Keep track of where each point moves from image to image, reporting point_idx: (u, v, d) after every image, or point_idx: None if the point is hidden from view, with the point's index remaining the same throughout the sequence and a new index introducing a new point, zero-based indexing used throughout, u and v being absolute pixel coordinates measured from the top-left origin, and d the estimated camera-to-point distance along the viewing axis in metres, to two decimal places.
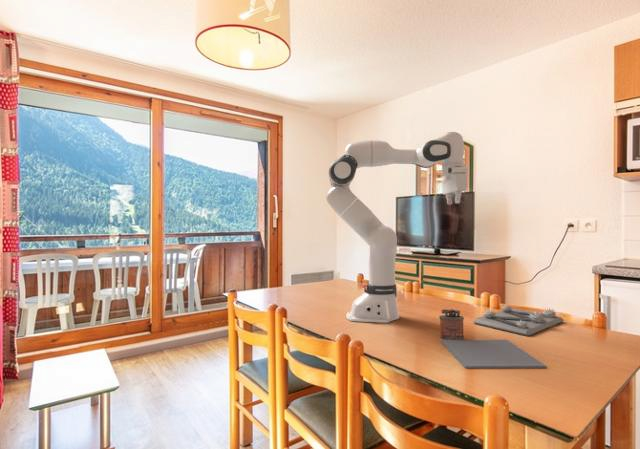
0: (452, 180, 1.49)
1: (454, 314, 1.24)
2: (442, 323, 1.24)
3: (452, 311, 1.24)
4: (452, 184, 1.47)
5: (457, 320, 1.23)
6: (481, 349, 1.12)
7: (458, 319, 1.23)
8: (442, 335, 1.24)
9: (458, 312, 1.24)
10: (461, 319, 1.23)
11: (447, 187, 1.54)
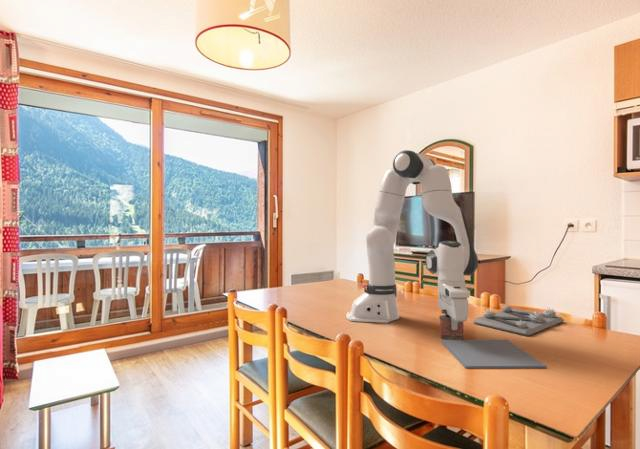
0: (450, 302, 1.21)
1: None
2: (442, 323, 1.24)
3: None
4: (450, 308, 1.20)
5: None
6: (481, 349, 1.12)
7: None
8: (442, 335, 1.24)
9: None
10: None
11: (444, 305, 1.27)
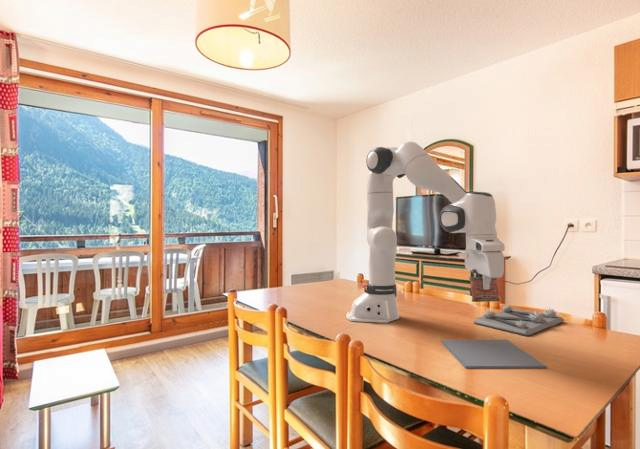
0: (481, 258, 1.08)
1: None
2: (473, 284, 1.10)
3: None
4: (482, 264, 1.07)
5: None
6: (481, 349, 1.12)
7: (491, 278, 1.09)
8: (474, 298, 1.09)
9: None
10: (494, 278, 1.10)
11: (473, 264, 1.13)
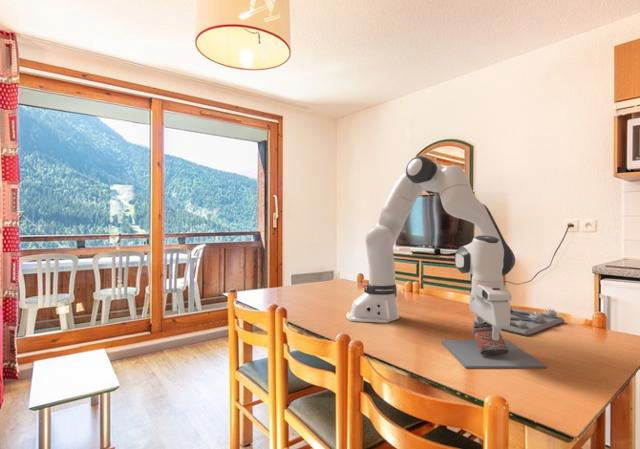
0: (487, 306, 1.06)
1: (488, 326, 1.11)
2: (477, 335, 1.09)
3: (484, 323, 1.12)
4: (488, 312, 1.05)
5: None
6: None
7: None
8: (482, 347, 1.06)
9: None
10: None
11: (479, 309, 1.11)
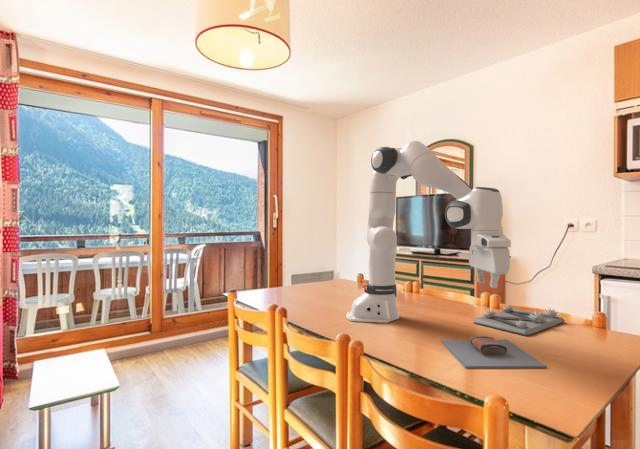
0: (486, 255, 1.06)
1: None
2: (475, 340, 1.12)
3: None
4: (487, 261, 1.05)
5: (489, 338, 1.13)
6: None
7: (489, 337, 1.13)
8: (480, 344, 1.08)
9: None
10: (493, 338, 1.13)
11: (478, 260, 1.11)
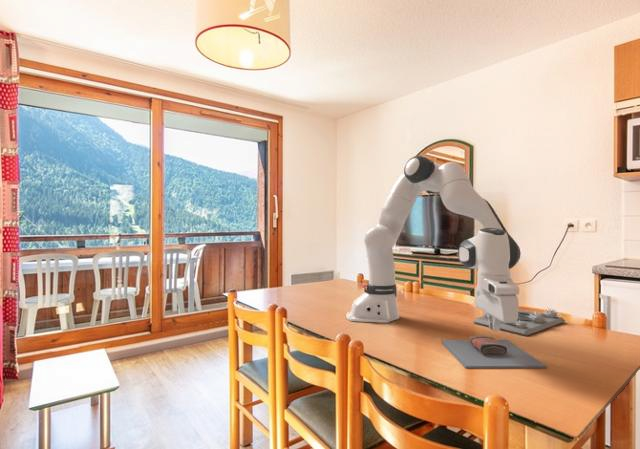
0: (494, 300, 1.02)
1: None
2: (475, 340, 1.12)
3: None
4: (495, 307, 1.01)
5: (489, 338, 1.13)
6: None
7: (489, 337, 1.13)
8: (480, 344, 1.08)
9: None
10: (493, 338, 1.13)
11: (485, 304, 1.08)
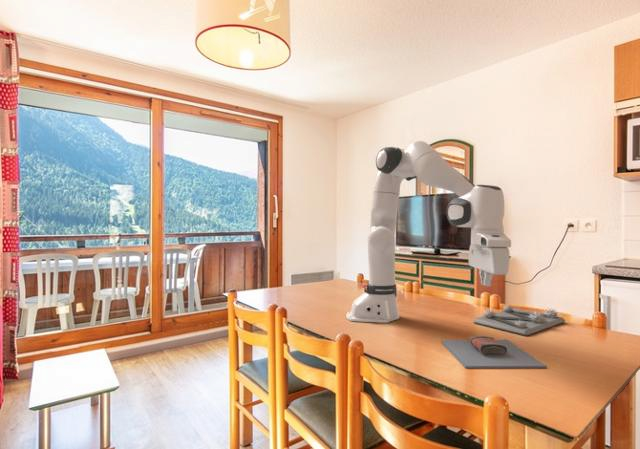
0: (486, 254, 1.03)
1: None
2: (475, 340, 1.12)
3: None
4: (486, 260, 1.02)
5: (489, 338, 1.13)
6: None
7: (489, 337, 1.13)
8: (480, 344, 1.08)
9: None
10: (493, 338, 1.13)
11: (477, 260, 1.08)
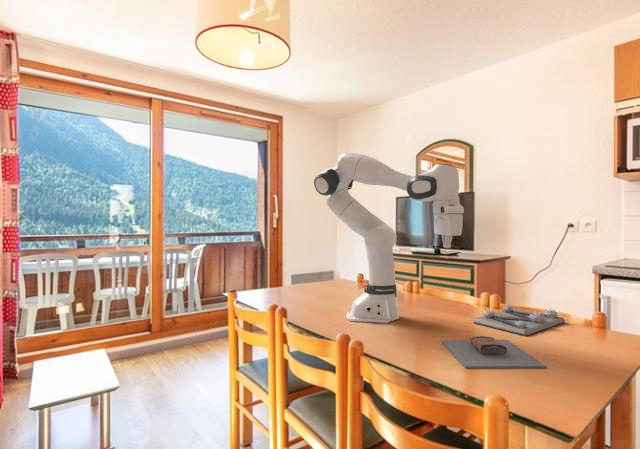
0: (445, 221, 1.25)
1: None
2: (475, 340, 1.12)
3: None
4: (446, 225, 1.24)
5: (489, 338, 1.13)
6: None
7: (489, 337, 1.13)
8: (480, 344, 1.08)
9: None
10: (493, 338, 1.13)
11: (440, 227, 1.30)
